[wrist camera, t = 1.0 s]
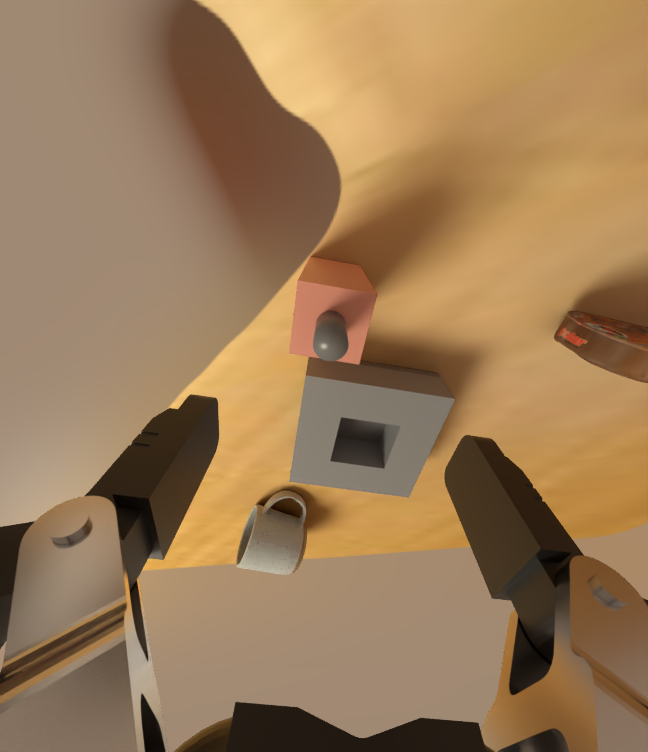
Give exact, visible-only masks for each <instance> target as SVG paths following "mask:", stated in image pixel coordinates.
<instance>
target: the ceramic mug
mask: <svg viewBox="0 0 648 752" xmlns="http://www.w3.org/2000/svg"><path fill="white" fill-rule="evenodd" d="M284 498H292V499H294V500H295V501H296V502H297V503H299V504H300V505H301V507H302V508H303V509H302V514H301V517H300V518H299V519H298V518H297V517H294V516H291V515H288V514H285V513H282V512H279V511H276V510H274V509H271V508H270V507H271V506H272V505H273V504H274V503H275V502H277V501H279V500H282V499H284ZM305 518H306V506H305V502H304V500H303V498H302V497H301V496H300V495H299V494H297V493H295V492H292V491H281V492H278V493H276V494H274V495H273V496H272V497H271V498H270V499H269V500H268V501H267V503H266V504H265V506H262V505H258V504H257V505H255V506H254V508H253V509H252V511H251V513H250V515H249V517H248V520H247V522H246V525H245V528H244V530H243V534H242V537H241V541H240V545H239V549H238V554H237V560H236V561H237V563H236V564H237V567H239V568H243V569H252V570H257V571H264V572H271V573H275V574H283V575H284V574H292V573H294V572H295V571H296V570H297V569H298V567H299V566H300V563H301V561H302V559H303V555H304V552H305V548H306V541H307V529H306V526H305V523H304V521H305Z"/></svg>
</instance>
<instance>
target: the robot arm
mask: <svg viewBox="0 0 648 752" xmlns="http://www.w3.org/2000/svg"><path fill="white" fill-rule="evenodd" d="M218 441H219V420H218V401H217V399H216V398H213V397H206V396H199V395H189V396H188V397H187V399H186V400H185V401H184V402H183V404H182V405H181V406H180V408H179V409H171V408H169V409H167V410H166V411H164V412H162V413H161V414H159V415H157V416H156V417H154V418H153V419H152V420H151V421H150V422H149V423H148V424H147V425H146V427H145V428H144V429H143V430H142V432H141V434H139V435H138V436H137V437H136V438H135V439H134V440H133V442H132V444H131V445H130V446H128V447H127V449H126V450H125V451H124V452H123V453H122V454H121V455H120V457H119V458H118V459H117V460H116V461H115V462H114V463H113V465H112V466H111V467H110V468H109V469H108V470H107V472H106V473H105V474H104V475H103V476H102V477H101V479H100V480H99V481H98V482H97V483H96V484H95V485H94V486H93V488H92V489H91V490H90V491H89V492H88V493H87V494H86V495H85V496H83V497H78V498H75V499H71V500H68V501H66V502H63V503H61V504H59V505H57V506H55V507H54V508H52V509H50V510H49V511H47V512H46V513H44V514H43V515H42V516H40V517H39V518H38V519H37V520H36V521H34V522H29V523H22V524H16V525H10V526H4V527H0V649H1V647H2V646H3V644H4V643H5V642H6V648H5V655H4V662H3V666H2V669H1V672H0V752H169V751H168V745H167V739H166V733H165V727H164V720H163V714H162V708H161V702H160V697H159V692H158V687H157V683H156V679H155V675H154V670H153V665H152V660H151V654H150V647H149V641H148V634H147V628H146V622H145V615H144V609H143V602H142V596H141V590H140V584H139V578H138V576H139V575H140V573H141V571H142V569H143V567H144V565H145V563H146V561H147V559H148V558H151V559H160V560H164V558H165V556H166V554H167V551H168V549H169V547H170V545H171V543H172V541H173V539H174V537H175V535H176V533H177V531H178V529H179V527H180V525H181V523H182V521H183V518H184V516H185V514H186V512H187V510H188V508H189V506H190V504H191V502H192V500H193V498H194V496H195V494H196V492H197V490H198V488H199V486H200V483H201V481H202V479H203V477H204V475H205V473H206V471H207V469H208V467H209V465H210V463H211V461H212V459H213V457H214V455H215V452H216V449H217V446H218ZM445 484H446V487H447V490H448V492H449V495H450V497H451V499H452V502H453V504H454V507H455V509H456V512H457V514H458V516H459V519H460V521H461V524H462V526H463V529H464V531H465V534H466V536H467V538H468V541H469V543H470V546H471V548H472V550H473V553H474V555H475V558H476V560H477V563H478V565H479V567H480V570H481V572H482V575H483V577H484V580H485V582H486V585H487V587H488V590H489V592H490V594H491V597H492V598H494V599H503V600H511V601H512V603H513V605H514V607H515V610H514V611H513V612H512V613H511V615H510V618H509V624H508V630H507V637H506V643H505V649H504V655H503V662H502V668H501V675H500V680H499V687H498V692H497V696H496V698H495V701H494V703H493V706H492V707H491V709H490V710H489V712H488V714H487V716H486V718H485V720H484V723H483V726H482V729H481V731H480V727H479V724H478V723H475V722H463V721H451V720H439V719H428V718H427V719H426V718H419V719H417V720H414V721H411V722H408V723H406V724H403V725H401V726H398V727H395V728H392V729H389V730H387V731H384V732H382V733H379V734H376V735H373V736H371V737H368V738H358V737H355V736H353V735H351V734H349V733H347V732H345V731H343V730H341V729H339V728H337V727H335V726H333V725H331V724H329V723H327V722H325V721H323V720H321V719H319V718H317V717H315V716H314V715H311V714H310V713H308V712H306V711H304V710H302V709H300V708H298V707H287V706H276V705H264V704H251V703H240V702H236V703H235V708H234V713H233V717H231V718H228V719H225V720H222V721H219V722H217V723H215V724H213V725H211V726H209V727H207V728H205V729H203V730H202V731H200V732H199V733H197V734H196V735H194V736H193V737H192V738H190V739H189V740H187V741H186V742H184V743H183V744H182V745H181V746H180V747H179V748H178V749H176V750H175V751H174V752H648V600H646V599H643V598H642V597H641V596H640V595H639V593H638V592H637V591H636V590H635V588H634V587H633V586H632V585H631V584H630V583H629V582H628V581H627V580H626V579H625V578H623V577H622V576H621V575H620V574H619V573H617V572H616V571H615V570H613V569H612V568H610V567H609V566H607V565H606V564H604V563H602V562H600V561H599V560H596V559H594V558H591V557H588V556H584V555H583V554H582V552H581V551H580V549H579V548H578V547H577V545H576V544H575V543H574V541H573V540H572V538H571V537H570V536H569V534H568V533H567V532H566V530H565V529H564V527H563V526H562V525H561V523H560V522H559V521H558V519H557V518H556V516H555V515H554V514H553V512H552V511H551V510H550V508H549V507H548V505H547V504H546V503H545V502H543V501H542V497H541V496H540V494H539V493H538V492H537V490H536V489H534V488H533V485H532V483H531V482H530V481H529V479H528V478H527V477H526V475H525V474H524V472H523V471H522V470H521V469H520V468H519V467H518V466H516V465H515V464H514V463H513V462H512V461H511V460H510V459H509V458H507V457H505V456H504V454H503V453H502V451H501V450H500V449H499V447H498V446H497V444H496V443H495V442H494V441H493V440H492V439H490V438H484V437H477V436H470V435H466V436H464V437H463V438H462V439H461V441H460V443H459V445H458V446H457V448H456V450H455V452H454V454H453V456H452V457H451V459H450V461H449V463H448V465H447V467H446V470H445Z"/></svg>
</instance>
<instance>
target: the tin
mask: <svg viewBox="0 0 648 752" xmlns="http://www.w3.org/2000/svg"><path fill="white" fill-rule="evenodd" d="M554 339H555V341H557V342H560V343H561V344H563V345H564V346H565V347H567V348H569V349H570V350H572V351H573V352H575V353H576V354H577V355H578V356H580V357H581V358H582V359H584V360H586V361H588V362H589V363H591V364H594V365H596V366H598V367H600V368H603V369H605V370H607V371H610V372H612V373H615V374H618V375H621V376H624V377H627V378H630V379H633V380H636V381H640V382H645V383H648V328H647V327H642V326H638V325H634V324H630V323H625V322H621V321H617V320H613V319H609V318H605V317H600V316H596V315H592V314H588V313H583V312H575V311H571V312H568V314H567V317H566V318H565V320H564V321H563V323H562V324H561V325H560V327H559V328H558V330H557V331H556V333H555V335H554Z"/></svg>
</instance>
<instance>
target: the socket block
mask: <svg viewBox="0 0 648 752" xmlns="http://www.w3.org/2000/svg"><path fill="white" fill-rule="evenodd" d="M454 401H455V398H454V396H453V395H452V393H451V392H450V390H449V389H448V387H447V386H446V384H445V383H444V381H443V380H442V379H441V377H440V376H439V374H438V373H434V372H428V371H422V370H415V369H409V368H403V367H397V366H391V365H385V364H379V363H372V362H366V361H360V363H359V365H358V364H352V363H346V362H340V361H325V360H323V359H321V358H315V357H309V360H308V366H307V372H306V378H305V385H304V391H303V397H302V404H301V410H300V417H299V423H298V429H297V436H296V442H295V448H294V455H293V461H292V467H291V474H290V480H289V482H296V483H304V484H311V485H319V486H326V487H334V488H341V489H349V490H356V491H364V492H371V493H378V494H386V495H393V496H401V497H408V498H409V496H410V494H411V492H412V489H413V487H414V485H415V483H416V481H417V479H418V477H419V475H420V473H421V471H422V468H423V466H424V464H425V462H426V460H427V458H428V456H429V454H430V452H431V449H432V447H433V445H434V443H435V441H436V439H437V437H438V435H439V433H440V430H441V428H442V426H443V424H444V422H445V420H446V418H447V416H448V414H449V412H450V409H451V407H452V405H453V403H454Z"/></svg>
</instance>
